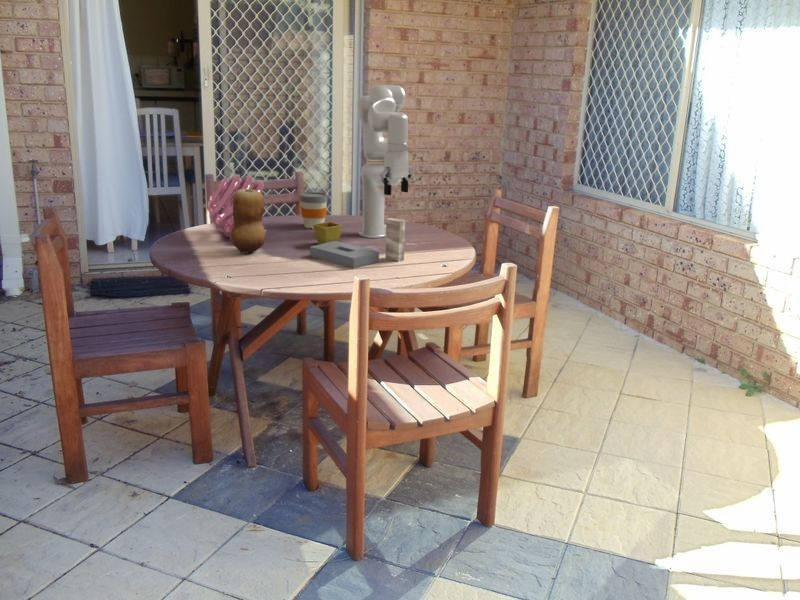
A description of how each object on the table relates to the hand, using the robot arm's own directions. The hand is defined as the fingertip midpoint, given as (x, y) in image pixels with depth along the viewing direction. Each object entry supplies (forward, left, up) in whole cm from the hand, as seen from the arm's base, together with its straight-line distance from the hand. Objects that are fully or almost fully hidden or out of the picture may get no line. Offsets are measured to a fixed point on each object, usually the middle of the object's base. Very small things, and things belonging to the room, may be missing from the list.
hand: (396, 193), depth 280 cm
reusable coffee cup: (-16, -64, -26) cm, 71 cm away
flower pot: (+4, -34, -26) cm, 43 cm away
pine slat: (0, 0, -26) cm, 26 cm away
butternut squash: (+34, -48, -26) cm, 64 cm away
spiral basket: (+21, -72, -26) cm, 80 cm away
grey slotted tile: (+14, -14, -26) cm, 33 cm away
